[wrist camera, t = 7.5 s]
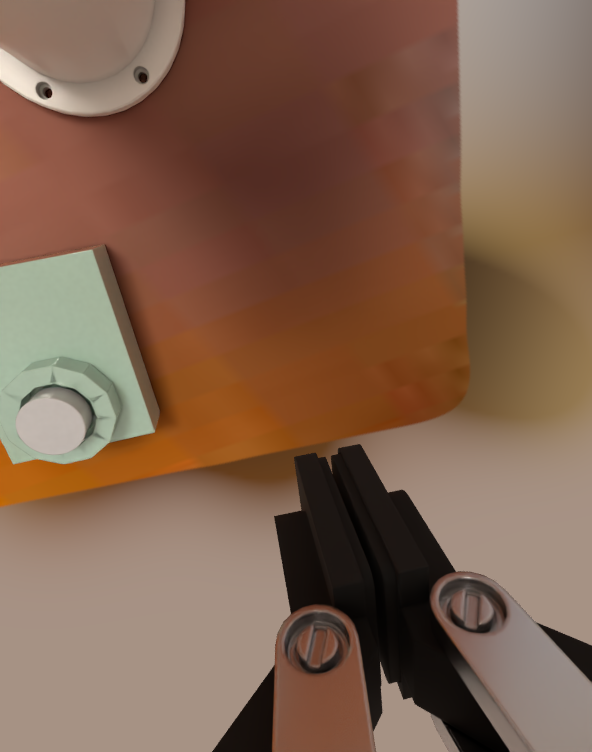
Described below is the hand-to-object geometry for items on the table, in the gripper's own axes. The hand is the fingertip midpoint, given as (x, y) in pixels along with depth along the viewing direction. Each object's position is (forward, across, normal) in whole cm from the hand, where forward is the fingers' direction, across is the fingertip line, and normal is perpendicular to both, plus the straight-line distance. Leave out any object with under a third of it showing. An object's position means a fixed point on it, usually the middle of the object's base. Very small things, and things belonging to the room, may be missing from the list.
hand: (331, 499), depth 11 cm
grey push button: (+19, +14, +5) cm, 24 cm away
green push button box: (+24, +14, +2) cm, 28 cm away
